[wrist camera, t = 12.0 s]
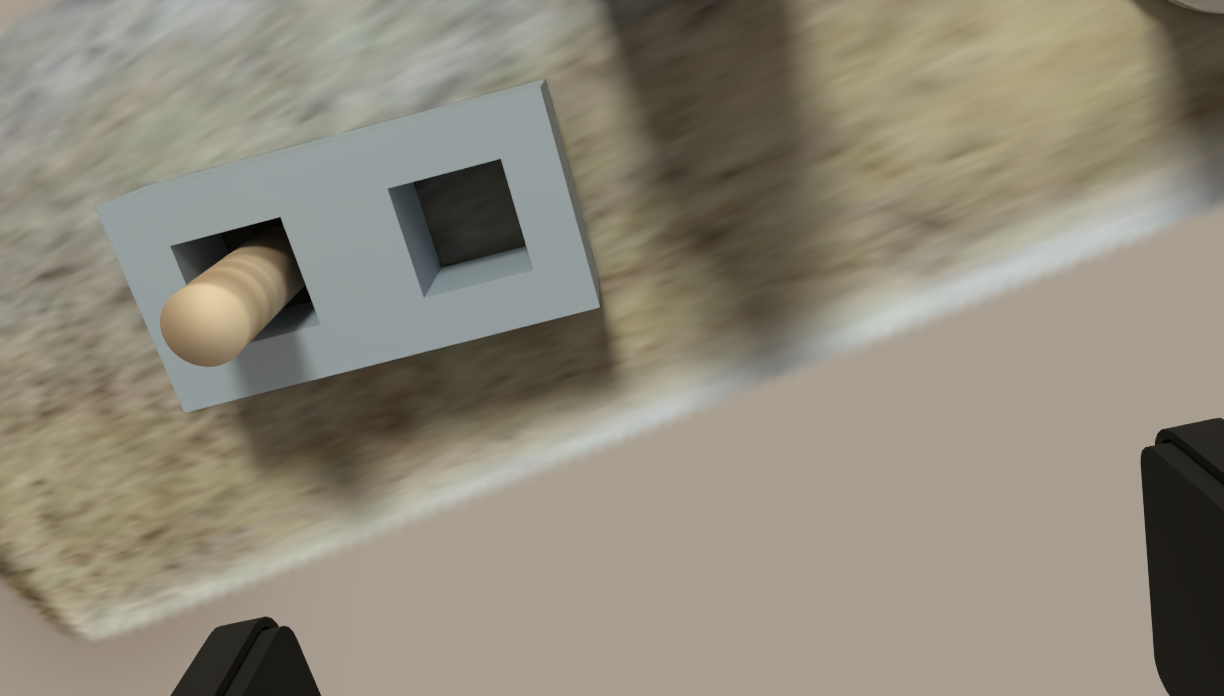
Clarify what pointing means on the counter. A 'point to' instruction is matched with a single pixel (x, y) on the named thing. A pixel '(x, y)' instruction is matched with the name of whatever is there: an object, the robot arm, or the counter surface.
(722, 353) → the counter surface
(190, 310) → the peg
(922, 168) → the counter surface
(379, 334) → the hole block
